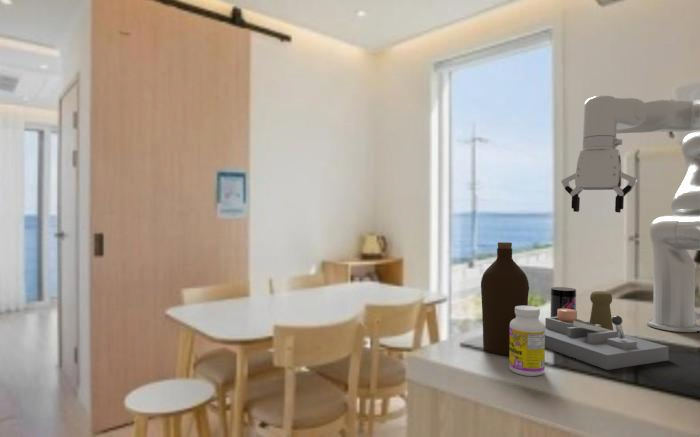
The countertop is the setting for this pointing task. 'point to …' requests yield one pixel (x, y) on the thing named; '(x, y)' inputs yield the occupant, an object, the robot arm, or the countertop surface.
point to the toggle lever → (618, 326)
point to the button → (566, 315)
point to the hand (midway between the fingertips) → (596, 211)
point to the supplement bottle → (527, 342)
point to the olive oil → (501, 299)
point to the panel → (601, 346)
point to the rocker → (589, 326)
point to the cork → (601, 309)
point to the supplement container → (562, 299)
